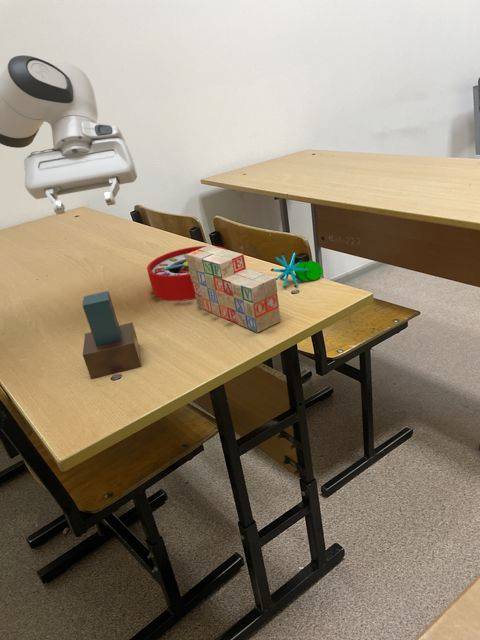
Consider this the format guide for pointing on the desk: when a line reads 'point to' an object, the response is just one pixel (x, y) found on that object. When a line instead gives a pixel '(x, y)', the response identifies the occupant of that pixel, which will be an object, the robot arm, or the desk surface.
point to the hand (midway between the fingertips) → (85, 207)
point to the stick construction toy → (299, 270)
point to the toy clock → (172, 275)
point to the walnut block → (112, 353)
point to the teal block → (102, 318)
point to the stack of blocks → (233, 288)
